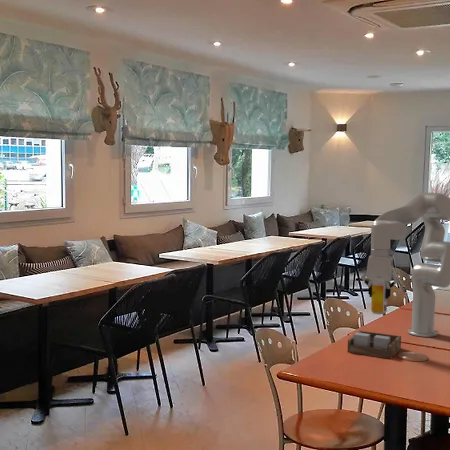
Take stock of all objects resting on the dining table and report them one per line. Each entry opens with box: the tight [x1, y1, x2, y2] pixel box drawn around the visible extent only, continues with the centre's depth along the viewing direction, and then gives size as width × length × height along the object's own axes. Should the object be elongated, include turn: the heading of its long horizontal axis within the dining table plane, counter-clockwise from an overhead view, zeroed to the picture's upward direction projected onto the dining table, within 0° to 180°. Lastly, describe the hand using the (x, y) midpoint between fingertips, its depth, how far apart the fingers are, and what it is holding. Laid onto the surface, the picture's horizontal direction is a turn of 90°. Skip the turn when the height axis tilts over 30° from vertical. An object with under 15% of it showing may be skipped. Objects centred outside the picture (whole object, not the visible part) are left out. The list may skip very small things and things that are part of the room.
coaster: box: [397, 351, 429, 363], centre depth 241 cm, size 11×11×1 cm
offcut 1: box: [353, 331, 370, 347], centre depth 248 cm, size 4×6×7 cm
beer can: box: [370, 277, 388, 315], centre depth 252 cm, size 6×6×15 cm
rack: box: [347, 330, 402, 360], centre depth 250 cm, size 17×17×5 cm
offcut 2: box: [374, 335, 390, 350], centre depth 244 cm, size 4×6×7 cm
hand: (379, 296), depth 252 cm, fingers closed on beer can, 5 cm apart
